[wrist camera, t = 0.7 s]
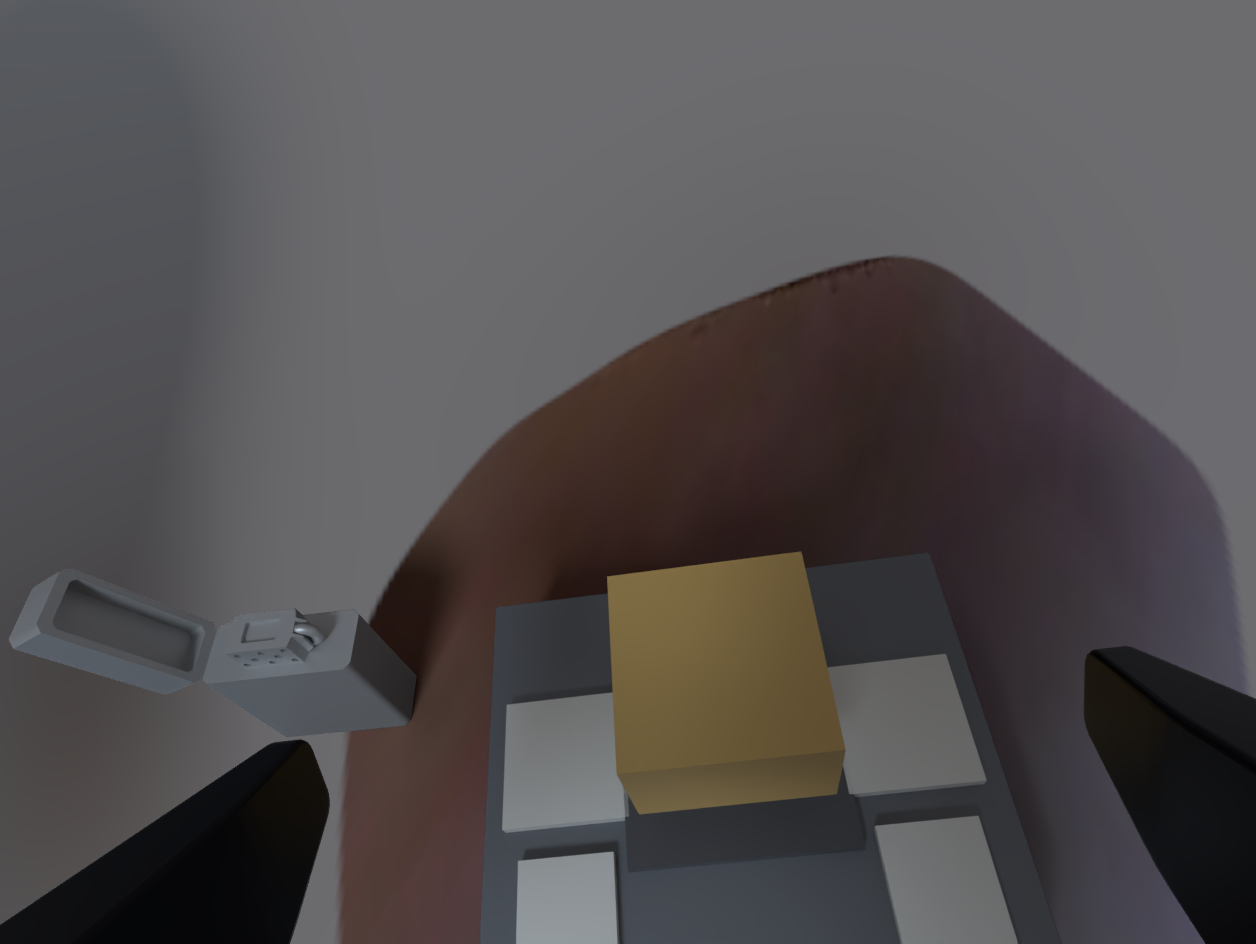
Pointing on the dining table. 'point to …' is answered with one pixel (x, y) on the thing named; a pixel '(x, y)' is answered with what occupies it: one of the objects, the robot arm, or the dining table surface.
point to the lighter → (224, 655)
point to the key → (721, 686)
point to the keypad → (764, 831)
